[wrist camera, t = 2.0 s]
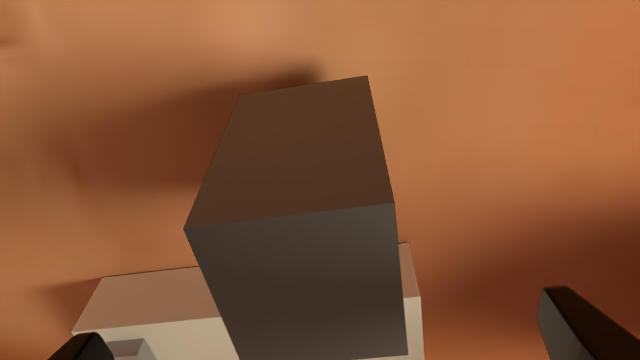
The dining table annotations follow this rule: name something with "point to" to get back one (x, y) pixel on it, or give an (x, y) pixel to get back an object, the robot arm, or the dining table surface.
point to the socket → (195, 316)
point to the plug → (302, 227)
